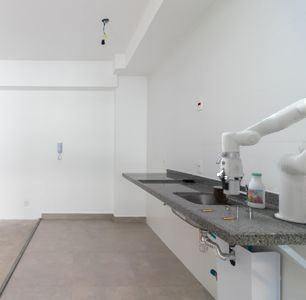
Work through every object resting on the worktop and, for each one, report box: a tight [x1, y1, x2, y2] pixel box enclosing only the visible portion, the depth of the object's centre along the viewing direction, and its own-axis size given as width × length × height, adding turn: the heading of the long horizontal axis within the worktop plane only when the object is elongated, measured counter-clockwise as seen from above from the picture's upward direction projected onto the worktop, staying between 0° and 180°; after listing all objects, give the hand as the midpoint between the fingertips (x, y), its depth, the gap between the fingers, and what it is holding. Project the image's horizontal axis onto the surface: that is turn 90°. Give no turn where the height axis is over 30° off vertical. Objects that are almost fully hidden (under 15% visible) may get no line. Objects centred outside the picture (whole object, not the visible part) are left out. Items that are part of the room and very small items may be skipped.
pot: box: [224, 178, 241, 196], centre depth 108 cm, size 7×7×7 cm
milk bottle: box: [247, 172, 266, 209], centre depth 122 cm, size 8×8×20 cm
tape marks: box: [201, 209, 236, 220], centre depth 107 cm, size 6×14×1 cm, turn 13°
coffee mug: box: [212, 185, 230, 205], centre depth 130 cm, size 12×9×10 cm
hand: (231, 189), depth 108 cm, fingers closed on pot, 6 cm apart
